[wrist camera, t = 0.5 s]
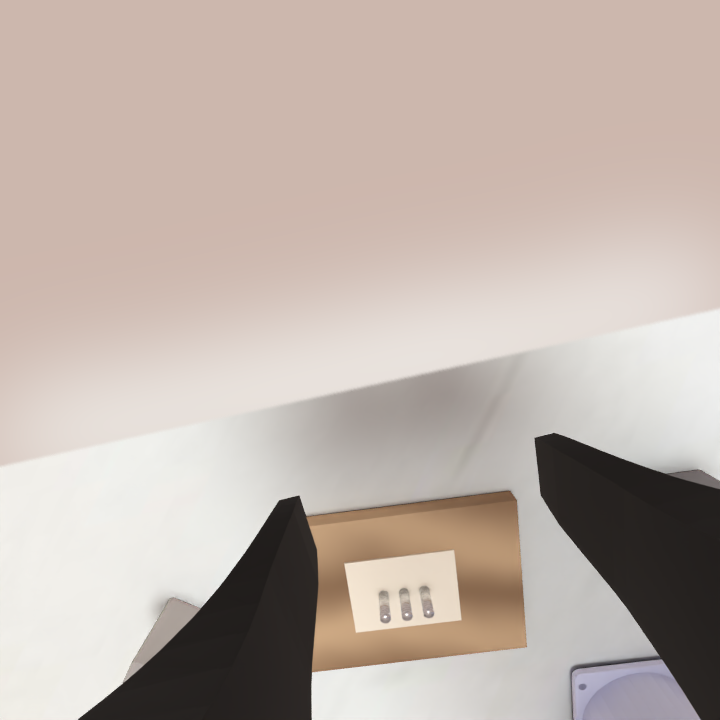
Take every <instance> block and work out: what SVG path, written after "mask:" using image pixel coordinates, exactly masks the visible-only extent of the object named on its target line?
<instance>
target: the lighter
mask: <svg viewBox="0 0 720 720" xmlns="http://www.w3.org/2000/svg"><path fill="white" fill-rule="evenodd" d="M199 610H200V608H198V607H195V606H193V605H191V604H188V603H186V602H183V601H181V600H178V599H176V598H170V599H169V601H168V603H167V604H166V606H165V608H164V609H163V611H162V613H161V614H160V616H159V618H158V619H157V621H156V623H155V624H154V626H153V628H152V630H151V631H150V633H149V635H148V636H147V638H146V640H145V641H144V643H143V645H142V646H141V648H140V650H139V651H138V653H137V655H136V656H135V658H134V660H133V661H132V663H131V665H130V668H129V670H128V672H127V674H126V676H125V678H124V681H123V683H124V682H125V681H126V680H127V679H129V678H130V677H131V676H132V675H133V674H134V673H136V672H137V671H138V670H139V669H140V668H141V667H142V666H143V665H145V664H146V663H147V662H148V661H149V660H150V659H151V658H152V657H153V656H154V655H156V654H157V653H158V652H159V651H160V650H161V649H162V648H163V647H164V646H165V645H166V644H167V643H168V642H169V641H170V640H171V639H172V638H173V637H174V636H175V635H176V634H177V633H178V632H179V631H180V630H181V629H182V628H183V627H184V626H185V625H186V624H187V623H188V622H189V621H190V620H191V619H192V618H193V617H194V616H195V614H196V613H197V612H198V611H199Z"/></svg>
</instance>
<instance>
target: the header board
mask: <svg viewBox="0 0 720 720" xmlns="http://www.w3.org/2000/svg"><path fill="white" fill-rule="evenodd" d="M306 518H307V521H308V524H309V527H310V530H311V533H312V536H313V539H314V542H315V545H316V548H317V557H318V583H319V584H318V599H317V612H316V624H315V637H314V649H313V661H312V672H318V671H327V670H335V669H344V668H352V667H361V666H369V665H378V664H387V663H395V662H404V661H412V660H421V659H429V658H438V657H447V656H455V655H464V654H472V653H481V652H489V651H498V650H507V649H515V648H524V647H527V643H526V628H525V614H524V599H523V585H522V570H521V555H520V541H519V526H518V512H517V500H516V498H515V497H514V496H513V494H512V493H511V491H506V492H498V493H490V494H482V495H474V496H466V497H459V498H451V499H443V500H435V501H427V502H419V503H411V504H404V505H396V506H388V507H380V508H372V509H364V510H357V511H349V512H341V513H333V514H325V515H317V516H310V517H306Z"/></svg>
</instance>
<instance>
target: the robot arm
mask: <svg viewBox="0 0 720 720" xmlns="http://www.w3.org/2000/svg"><path fill="white" fill-rule="evenodd" d="M535 447H536V456H537V465H538V474H539V483H540V492H541V496H542V498H543V499H544V501H545V503H546V504H547V506H548V508H549V509H550V511H551V512H552V514H553V515H554V517H555V519H556V520H557V522H558V523H559V525H560V526H561V527H562V529H563V530H564V531H565V532H566V534H567V535H568V536H569V537H570V538H571V540H572V541H573V542H574V543H575V545H576V546H577V547H578V548H579V549H580V551H581V552H582V553H583V554H584V556H585V557H586V558H587V559H588V560H589V562H590V563H591V564H592V565H593V566H594V568H595V569H596V570H597V571H598V572H599V574H600V575H601V576H602V577H603V579H604V580H605V581H606V582H607V583H608V585H609V586H610V587H611V588H612V589H613V591H614V592H615V593H616V594H617V596H618V597H619V598H620V600H621V601H622V602H623V604H624V605H625V606H626V607H627V609H628V610H629V612H630V613H631V615H632V616H633V617H634V619H635V620H636V622H637V623H638V625H639V626H640V628H641V629H642V631H643V632H644V633H645V635H646V636H647V638H648V639H649V641H650V642H651V644H652V645H653V647H654V648H655V650H656V651H657V653H658V654H659V656H660V657H661V659H659V660H651V661H642V662H633V663H624V664H616V665H607V666H598V667H590V668H581V669H576V670H575V671H574V672H573V673H572V697H573V720H720V489H717V488H713V487H710V486H706V485H702V484H699V483H695V482H691V481H687V480H684V479H680V478H677V477H674V476H670V475H667V474H664V473H661V472H658V471H655V470H652V469H649V468H646V467H643V466H640V465H638V464H635V463H632V462H629V461H626V460H624V459H621V458H618V457H616V456H613V455H611V454H608V453H606V452H603V451H600V450H598V449H595V448H593V447H590V446H588V445H585V444H583V443H580V442H578V441H575V440H573V439H570V438H568V437H565V436H562V435H559V434H556V433H552V434H548V435H544V436H540V437H536V438H535ZM318 584H319V583H318V557H317V548H316V545H315V542H314V539H313V536H312V533H311V530H310V527H309V524H308V521H307V518H306V515H305V512H304V509H303V506H302V503H301V499H300V496H295V497H291V498H287V499H283V500H279V502H278V503H277V505H276V506H275V508H274V509H273V511H272V512H271V514H270V515H269V517H268V519H267V520H266V522H265V523H264V525H263V526H262V528H261V530H260V531H259V533H258V534H257V536H256V537H255V539H254V540H253V542H252V543H251V545H250V546H249V548H248V549H247V551H246V552H245V554H244V555H243V556H242V558H241V559H240V560H239V562H238V563H237V564H236V566H235V567H234V568H233V570H232V571H231V572H230V574H229V575H228V577H227V578H226V579H225V580H224V582H223V583H222V584H221V586H220V587H219V588H218V589H217V590H216V592H215V593H214V594H213V595H212V596H211V597H210V599H209V600H208V601H207V602H206V603H205V604H204V605H203V607H202V608H201V609H200V610H199V611H198V612H197V613H196V614H195V616H194V617H193V618H192V619H191V620H190V621H189V622H188V623H187V624H186V625H185V626H184V627H183V628H182V629H181V630H180V631H179V632H178V633H177V634H176V635H175V636H174V637H173V638H172V639H171V640H170V641H169V642H168V643H167V644H166V645H165V646H164V647H163V648H162V649H161V650H160V651H159V652H158V653H157V654H156V655H154V656H153V657H152V658H151V659H150V660H149V661H148V662H147V663H146V664H145V665H143V666H142V667H141V668H140V669H139V670H138V671H137V672H136V673H134V674H133V675H132V676H131V677H130V678H129V679H127V680H126V681H125V682H124V683H123V684H122V685H121V686H119V687H118V688H117V689H116V690H114V691H113V692H112V693H111V694H110V695H108V696H107V697H106V698H105V699H103V700H102V701H101V702H100V703H98V704H97V705H96V706H94V707H93V708H92V709H91V710H89V711H88V712H87V713H86V714H84V715H83V716H82V717H80V718H79V719H78V720H312V717H311V681H312V661H313V649H314V637H315V624H316V612H317V599H318Z"/></svg>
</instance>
